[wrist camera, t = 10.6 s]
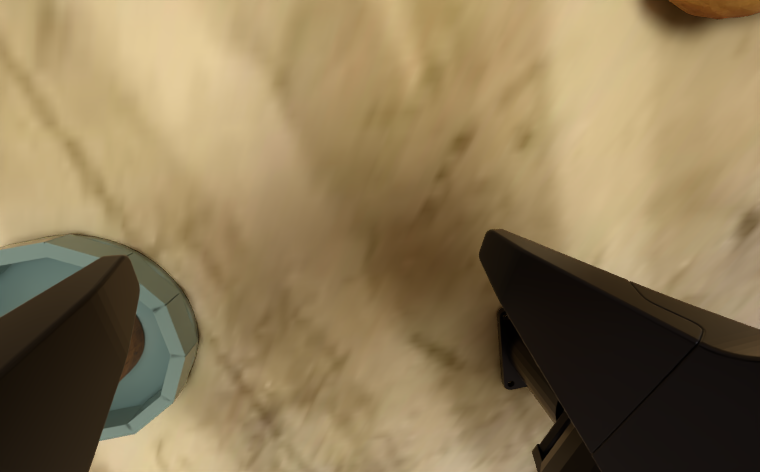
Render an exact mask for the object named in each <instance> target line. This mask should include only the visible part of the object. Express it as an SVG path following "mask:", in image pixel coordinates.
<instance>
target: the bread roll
mask: <svg viewBox="0 0 760 472" xmlns="http://www.w3.org/2000/svg"><path fill="white" fill-rule="evenodd" d="M669 1H670V2H671V3H673V4H674V5H676V6H677V7H678V8H680V9H681V10H683V11H685V12H686V13H688V14H691V15H693V16H702V17H708V18H714V19H722V18H729V17H743V16H749V15H752V14H756V13H759V12H760V0H669Z"/></svg>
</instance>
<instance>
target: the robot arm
mask: <svg viewBox="0 0 760 472" xmlns="http://www.w3.org/2000/svg"><path fill="white" fill-rule="evenodd" d="M479 258H480V261H481V264H482V266H483V268H484V270H485V272H486V274H487V276H488V278H489V281H490V283H491V285H492V287H493V289H494V291H495V293H496V295H497V297H498V299H499V301H500V303H501V305H502V307H503V308H501V309H500V310H499V311H498V312H497V321H498V335H499V348H500V361H501V375H502V383H503V385H504V386H505V388H506V389H508V390H512V389H517V388H522V387H527V386H528V388H529V389H530V390H531V392H532V393H533V394H534V396H535V397H536V399H537V400H538V401H539V403H540V404H541V406H542V407H543V408H544V410H545V411H546V412H547V414H548V415H549V417H550V418H551V419H552V421H553V422H554V423H555V424H554V425H553V427H552V428H551V429H550V431H549V432H548V434H547V435H546V436H545V438H544V439H543V440H542V442H541V443H540V444H537V445H536V447H535V448H534V449H533V451H532V454H533V457H534V461H535V464H536V468H537V471H538V472H760V329H757V328H754V327H751V326H748V325H746V324H743V323H740V322H737V321H735V320H732V319H729V318H726V317H724V316H721V315H718V314H715V313H712V312H710V311H707V310H704V309H701V308H699V307H696V306H693V305H691V304H688V303H685V302H683V301H680V300H677V299H675V298H672V297H669V296H667V295H664V294H662V293H659V292H656V291H654V290H651V289H649V288H646V287H644V286H641V285H639V284H636V283H634V282H631V281H630V282H629V281H628V280H626V279H624V278H622V277H619V276H617V275H614V274H612V273H609V272H607V271H604V270H602V269H599V268H597V267H594V266H592V265H589V264H587V263H585V262H582V261H580V260H577V259H575V258H572V257H570V256H567V255H565V254H562V253H560V252H557V251H555V250H552V249H550V248H548V247H545V246H543V245H540V244H538V243H535V242H533V241H530V240H528V239H525V238H523V237H520V236H518V235H515V234H513V233H511V232H508V231H506V230H503V229H492V230H489V231H487V232H486V234H485V237H484V240H483V243H482V246H481V249H480V252H479ZM139 295H140V285H139V282H138V279H137V276H136V274H135V271H134V268H133V265H132V263H131V260H130V258H129V257H128V256H126V255H109V256H103V257H101V258H99V259H97V260H95V261H94V262H92V263H90V264H89V265H87V266H85V267H84V268H82V269H80V270H79V271H77V272H75V273H74V274H72V275H70V276H69V277H67V278H65V279H64V280H62V281H60V282H59V283H57V284H55V285H54V286H52V287H50V288H48V289H47V290H45V291H43V292H42V293H40V294H38V295H37V296H35V297H33V298H32V299H30V300H28V301H27V302H25V303H23V304H22V305H20V306H18V307H17V308H15V309H13V310H12V311H10V312H8V313H6V314H5V315H3V316H1V317H0V472H89V469H90V467H91V464H92V461H93V458H94V455H95V452H96V449H97V446H98V443H99V440H100V437H101V434H102V431H103V428H104V425H105V422H106V419H107V416H108V413H109V410H110V407H111V404H112V401H113V398H114V395H115V392H116V390H117V387H118V384H119V381H120V378H121V375H122V372H123V369H124V366H125V362H126V359H127V356H128V351H129V347H130V342H131V337H132V331H133V326H134V321H135V316H136V311H137V306H138V301H139ZM504 314H507V316H506V317H503V315H504ZM510 381H511V382H510ZM508 382H510V383H508Z"/></svg>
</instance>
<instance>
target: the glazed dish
mask: <svg viewBox="0 0 760 472" xmlns="http://www.w3.org/2000/svg"><path fill="white" fill-rule="evenodd" d="M109 255H126V256H128V257H129V258H130V260H131V263H132V265H133V268H134V271H135V274H136V276H137V279H138V282H139V285H140V295H139V301H138V306H137V311H136V317H137V318H138V320H139V321H140V324H141V326H142V328H143V332H144V349H143V353H142V355H141V357H140V359H139V361H138V362H137V364H136V365H135V366H134V368H133V369H132V370H131V371H130V372H129V373H128V374H127V375H126V376H125V377H124V378H123V379H122V380H121V381H120V382H119V384H118V387H117V390H116V392H115V395H114V398H113V401H112V404H111V407H110V410H109V413H108V416H107V419H106V422H105V425H104V428H103V431H102V434H101V437H100V440H99V441H102V440H107V439H112V438H117V437H122V436H127V435H132V434H135V433H137V432H138V431H139V430H140V429H142V428H143V427H144V426H145V425H147V424H148V423H149V422H150V421H151V420H153V419H154V418H155V417H156V416H158V415H159V414H160V413H161V412H162V411H164V410H165V409H166V408H167V407H169V406H170V405H171V404H172V403H173V402H174V401H175V399H176V398H177V396H178V395H179V393H180V392H181V390H182V389H183V388H184V386H185V385H186V382H187V379H188V375H189V372H190V370H191V369H192V367H193V364H194V361H195V358H196V354H197V349H198V329H197V323H196V319H195V316H194V312H193V310H192V308H191V306H190V303H189V301H188V299H187V298H186V296H185V295H184V293H183V291H182V290H181V288H180V287H179V286H178V285H177V283H176V282H175V281H174V280H173V279H172V278H171V277H170V276H169V275H168V274H167V273H166V272H165V271H164V270H163V269H162V268H161V267H159V266H158V265H157V264H156V263H154V262H153V261H152V260H150V259H149V258H147V257H145V256H144V255H142V254H141V253H139V252H137V251H135V250H133V249H131V248H129V247H126V246H124V245H122V244H119V243H116V242H113V241H110V240H106V239H102V238H98V237H93V236H84V235H72V234H66V235H57V236H48V237H44V238H40V239H36V240H32V241H27V242H21V243H15V244H10V245H6V246H3V247H0V317H1V316H3V315H5V314H6V313H8V312H10V311H12V310H13V309H15V308H17V307H18V306H20V305H22V304H23V303H25V302H27V301H28V300H30V299H32V298H33V297H35V296H37V295H38V294H40V293H42V292H43V291H45V290H47V289H48V288H50V287H52V286H54V285H55V284H57V283H59V282H60V281H62V280H64V279H65V278H67V277H69V276H70V275H72V274H74V273H75V272H77V271H79V270H80V269H82V268H84V267H85V266H87V265H89V264H90V263H92V262H94V261H95V260H97V259H99V258H101V257H103V256H109Z"/></svg>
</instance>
